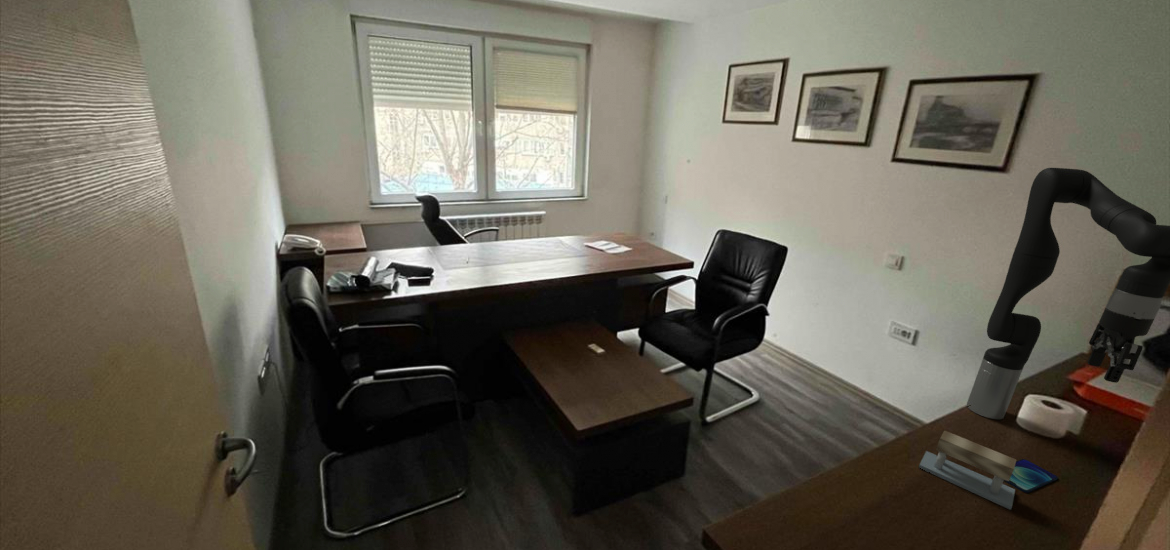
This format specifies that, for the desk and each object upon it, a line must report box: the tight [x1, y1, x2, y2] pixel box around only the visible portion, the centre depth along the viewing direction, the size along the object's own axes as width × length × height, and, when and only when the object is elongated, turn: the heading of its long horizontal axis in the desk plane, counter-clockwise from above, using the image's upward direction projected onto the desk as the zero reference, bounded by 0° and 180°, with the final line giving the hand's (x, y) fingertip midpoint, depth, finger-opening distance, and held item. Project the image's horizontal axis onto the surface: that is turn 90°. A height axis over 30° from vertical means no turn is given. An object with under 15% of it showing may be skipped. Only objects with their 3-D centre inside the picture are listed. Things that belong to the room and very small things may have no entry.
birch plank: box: [935, 429, 1017, 481], centre depth 111 cm, size 14×5×4 cm, turn 42°
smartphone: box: [1003, 458, 1059, 494], centre depth 116 cm, size 8×1×15 cm
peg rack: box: [918, 450, 1016, 511], centre depth 113 cm, size 18×8×6 cm, turn 44°
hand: (1101, 372), depth 109 cm, fingers open, 8 cm apart
